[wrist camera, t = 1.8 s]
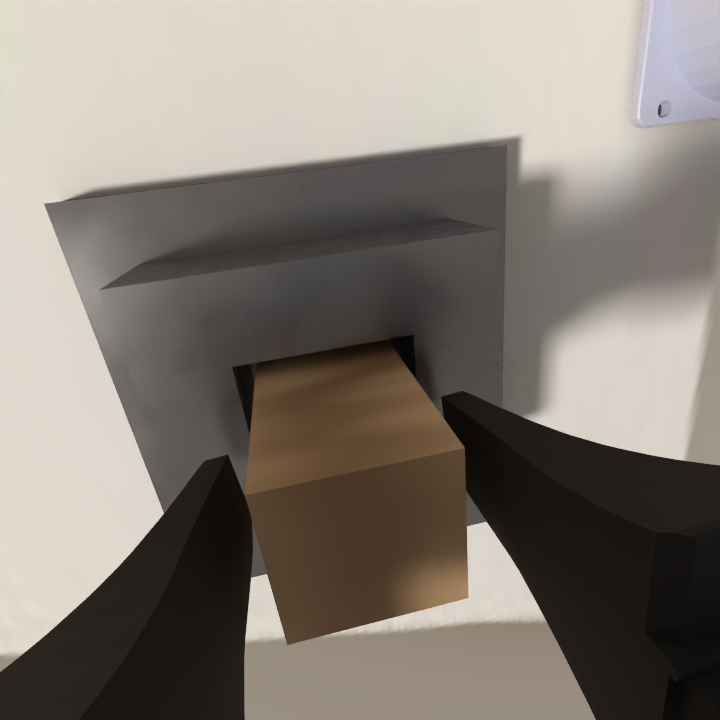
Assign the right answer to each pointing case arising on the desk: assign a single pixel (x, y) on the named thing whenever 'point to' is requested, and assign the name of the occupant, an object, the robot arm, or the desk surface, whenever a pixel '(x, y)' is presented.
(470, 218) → the metal sleeve
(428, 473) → the oak post
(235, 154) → the desk surface
